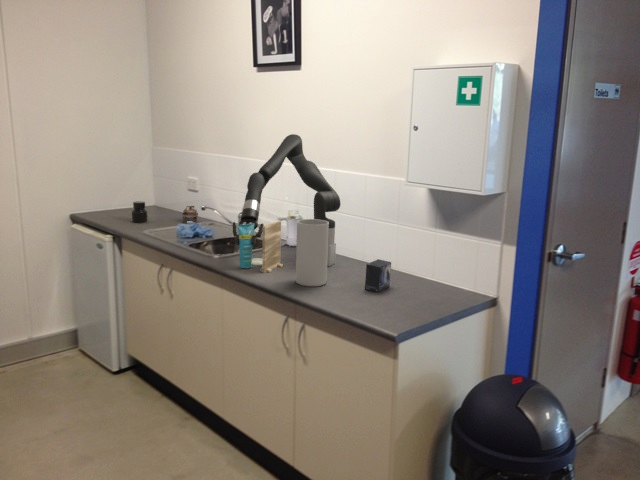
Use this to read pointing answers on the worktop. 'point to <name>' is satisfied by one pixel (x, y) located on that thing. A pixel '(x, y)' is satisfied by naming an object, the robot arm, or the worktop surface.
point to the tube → (245, 244)
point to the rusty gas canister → (190, 214)
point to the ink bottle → (139, 212)
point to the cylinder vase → (312, 252)
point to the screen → (271, 247)
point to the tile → (256, 262)
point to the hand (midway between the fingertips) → (245, 244)
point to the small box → (377, 275)
